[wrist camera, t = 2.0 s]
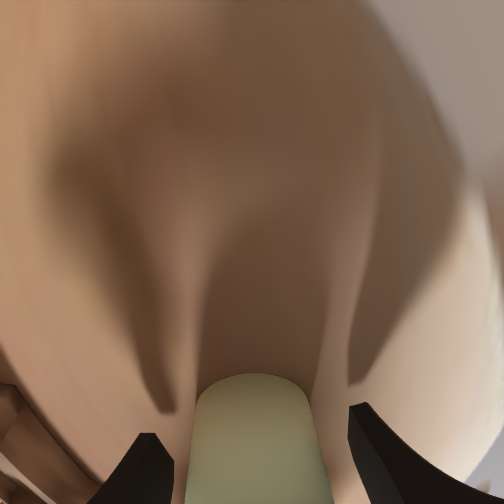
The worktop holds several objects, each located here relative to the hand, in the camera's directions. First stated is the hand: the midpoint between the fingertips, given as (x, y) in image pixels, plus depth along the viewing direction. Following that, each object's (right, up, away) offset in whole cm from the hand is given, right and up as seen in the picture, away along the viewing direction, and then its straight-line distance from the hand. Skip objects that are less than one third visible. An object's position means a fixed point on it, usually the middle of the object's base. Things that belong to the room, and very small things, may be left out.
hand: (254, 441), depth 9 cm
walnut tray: (-17, -8, +3) cm, 19 cm away
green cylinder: (0, 0, +1) cm, 2 cm away
